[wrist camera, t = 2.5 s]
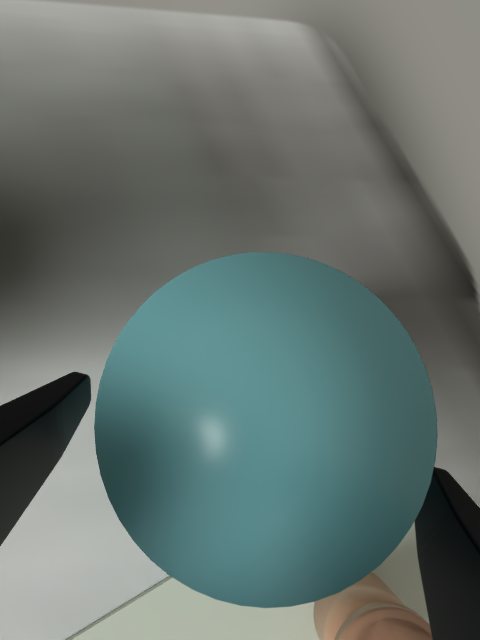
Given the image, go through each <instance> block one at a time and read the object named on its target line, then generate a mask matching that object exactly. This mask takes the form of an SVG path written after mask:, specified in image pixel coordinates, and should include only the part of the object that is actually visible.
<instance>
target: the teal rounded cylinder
mask: <svg viewBox="0 0 480 640" xmlns="http://www.w3.org/2000/svg"><path fill="white" fill-rule="evenodd" d="M94 429H95V444H96V454H97V459H98V464H99V469H100V474H101V477H102V480H103V483H104V486H105V489H106V492H107V495H108V498H109V500H110V502H111V504H112V506H113V508H114V510H115V512H116V514H117V516H118V518H119V520H120V522H121V523H122V525H123V526H124V527H125V529H126V530H127V532H128V533H129V535H130V536H131V538H132V539H133V541H134V542H135V543H136V544H137V545H138V546H139V547H140V549H141V550H142V551H143V552H144V553H145V554H146V555H147V556H148V557H149V558H150V560H151V561H153V562H154V563H155V564H156V565H157V566H159V567H160V568H161V569H162V570H164V571H165V572H166V573H167V574H168V575H170V576H171V577H173V578H174V579H176V580H177V581H179V582H181V583H182V584H184V585H186V586H187V587H189V588H191V589H192V590H195V591H197V592H199V593H202V594H204V595H206V596H209V597H211V598H214V599H216V600H220V601H224V602H228V603H232V604H236V605H240V606H249V607H259V608H277V607H292V606H297V605H301V604H306V603H311V602H315V601H318V600H321V599H323V598H326V597H329V596H331V595H334V594H337V593H339V592H341V591H343V590H344V589H346V588H348V587H350V586H351V585H353V584H355V583H357V582H359V581H360V580H362V579H363V578H364V577H365V576H367V575H368V574H369V573H371V572H372V571H373V570H374V569H376V568H377V567H378V566H380V565H381V564H382V563H383V561H384V560H385V559H386V558H387V557H388V556H389V555H390V554H391V553H392V552H393V551H394V550H395V549H396V548H397V547H398V545H399V544H400V542H401V541H402V540H403V538H404V537H405V535H406V534H407V533H408V531H409V530H410V528H411V527H412V525H413V523H414V521H415V519H416V517H417V515H418V513H419V511H420V509H421V508H422V505H423V503H424V500H425V497H426V494H427V492H428V489H429V486H430V483H431V478H432V474H433V469H434V464H435V459H436V447H437V418H436V409H435V403H434V397H433V391H432V388H431V384H430V381H429V378H428V374H427V371H426V368H425V366H424V364H423V361H422V359H421V357H420V355H419V352H418V350H417V348H416V346H415V345H414V343H413V341H412V340H411V338H410V336H409V334H408V333H407V331H406V329H405V328H404V327H403V326H402V324H401V323H400V322H399V320H398V319H397V318H396V316H395V315H394V314H393V313H392V311H391V310H390V309H389V308H388V307H387V306H386V305H385V304H384V303H383V302H382V301H381V300H380V299H379V298H378V297H377V296H375V295H374V294H373V293H372V292H371V291H369V290H368V289H367V288H366V287H364V286H363V285H362V284H360V283H359V282H357V281H356V280H354V279H353V278H351V277H349V276H348V275H346V274H345V273H343V272H341V271H338V270H336V269H334V268H332V267H330V266H328V265H326V264H323V263H320V262H317V261H314V260H311V259H308V258H304V257H300V256H295V255H290V254H283V253H272V252H256V253H243V254H236V255H230V256H225V257H222V258H218V259H215V260H211V261H208V262H206V263H203V264H201V265H198V266H196V267H194V268H191V269H189V270H187V271H186V272H184V273H182V274H180V275H179V276H177V277H175V278H173V279H172V280H171V281H169V282H168V283H167V284H165V285H164V286H163V287H161V288H160V289H158V290H157V291H156V292H155V293H154V294H153V295H152V296H151V297H150V298H149V299H148V300H146V301H145V302H144V303H143V304H142V305H141V306H140V308H139V309H138V310H137V311H136V313H135V314H134V315H133V316H132V317H131V319H130V320H129V321H128V322H127V324H126V326H125V327H124V329H123V330H122V332H121V334H120V335H119V337H118V338H117V340H116V342H115V344H114V346H113V348H112V351H111V353H110V355H109V357H108V359H107V362H106V365H105V368H104V371H103V374H102V377H101V380H100V385H99V390H98V395H97V401H96V409H95V426H94Z"/></svg>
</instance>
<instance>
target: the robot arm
mask: <svg viewBox="0 0 480 640" xmlns="http://www.w3.org/2000/svg"><path fill="white" fill-rule="evenodd" d="M90 401H91V381H90V377H89V376H88V375H86V374H82V373H79V372H72V373H70V374H67V375H65V376H63V377H61V378H59V379H57V380H55V381H53V382H50V383H48V384H46V385H44V386H42V387H40V388H38V389H35V390H33V391H31V392H29V393H27V394H25V395H23V396H20V397H18V398H16V399H14V400H12V401H10V402H8V403H5V404H3V405H1V406H0V546H1V544H2V543H3V542H4V540H5V539H6V537H7V536H8V534H9V533H10V531H11V530H12V528H13V527H14V525H15V524H16V523H17V521H18V520H19V518H20V517H21V515H22V514H23V512H24V511H25V509H26V508H27V507H28V505H29V504H30V502H31V501H32V499H33V498H34V496H35V495H36V493H37V492H38V490H39V489H40V488H41V486H42V485H43V483H44V482H45V480H46V479H47V477H48V476H49V474H50V473H51V471H52V470H53V469H54V467H55V466H56V464H57V463H58V461H59V460H60V458H61V456H62V455H63V453H64V451H65V449H66V448H67V446H68V444H69V442H70V440H71V438H72V436H73V435H74V433H75V431H76V429H77V427H78V425H79V423H80V422H81V420H82V418H83V416H84V414H85V412H86V410H87V409H88V407H89V404H90ZM414 523H415V535H416V548H417V557H418V563H419V569H420V574H421V580H422V585H423V591H424V596H425V602H426V607H427V613H428V618H429V624H430V629H431V635H432V640H480V508H479V507H478V506H477V505H476V503H475V502H474V501H473V500H472V499H471V498H470V497H469V495H468V494H467V493H466V492H465V491H464V490H463V489H462V487H461V486H460V485H459V484H458V483H457V482H456V481H455V479H454V478H453V477H452V476H451V475H450V474H449V473H448V472H447V471H446V470H444V469H440V468H436V467H434V469H433V474H432V478H431V483H430V486H429V489H428V492H427V494H426V497H425V500H424V503H423V505H422V508H421V509H420V511H419V513H418V515H417V517H416V519H415V521H414Z"/></svg>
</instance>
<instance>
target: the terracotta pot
mask: <svg viewBox="0 0 480 640" xmlns="http://www.w3.org/2000/svg"><path fill="white" fill-rule="evenodd" d="M313 616H314V625H315V629H316V633H317V636H318V638H319V640H432V635H431V629H430V624H429V623H428V622H427V621H426V620H425V619H424V618H423V617H422V616H420V615H419V614H418V613H416V612H415V611H414V610H412V609H410V608H408V607H406V606H405V605H404V604H403V603H402V602H401V601H400V600H399V598H398V597H397V596H396V595H395V594H394V593H393V592H392V591H391V590H390V588H389V587H388V586H387V585H386V584H385V583H384V582H383V581H382V580H381V579H380V578H379V577H378V576H376V575H375V574H373V573H372V572H371V573H369V574H368V575H367V576H365V577H364V578H363V579H362V580H360V581H359V582H357V583H355V584H353V585H351V586H350V587H348V588H346V589H344V590H343V591H341V592H339V593H337V594H334V595H331V596H329V597H326V598H323V599H321V600H318V601H315V603H314V613H313Z"/></svg>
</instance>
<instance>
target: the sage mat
mask: <svg viewBox="0 0 480 640" xmlns="http://www.w3.org/2000/svg"><path fill="white" fill-rule="evenodd" d="M372 573H373V574H375V575H376V576H378V577H379V578H380V579H381V580H382V581H383V582H384V583H385V584H386V585H387V586H388V587H389V588H390V590H391V591H392V592H393V593H394V594H395V595H396V596H397V597H398V598H399V600H400V601H401V602H402V603H403V604H404V605H405V606H406V607H408V608H410V609H412V610H414V611H415V612H416V613H418V614H419V615H420V616H422V617H423V618H424V619H425V620H426V621H427V622H428V623H429V618H428V613H427V607H426V602H425V596H424V591H423V585H422V580H421V574H420V569H419V563H418V557H417V548H416V535H415V523H413V525H412V527H411V528H410V530H409V531H408V533H407V534H406V535H405V537H404V538H403V540H402V541H401V542H400V544H399V545H398V547H397V548H396V549H395V550H394V551H393V552H392V553H391V554H390V555H389V556H388V557H387V558H386V559H385V560H384V561H383V563H382V564H381V565H380V566H378V567H377V568H376V569H374V570H373V571H372ZM314 603H315V602H311V603H306V604H301V605H297V606H292V607H277V608H259V607H249V606H240V605H236V604H232V603H228V602H224V601H220V600H216V599H214V598H211V597H209V596H206V595H204V594H202V593H199V592H197V591H195V590H192V589H191V588H189V587H187V586H186V585H184V584H182V583H181V582H179V581H177V580H176V579H174V578H173V577H171V576H170V577H168V578H166V579H165V580H163V581H161V582H160V583H158V584H157V585H155V586H153V587H152V588H150V589H148V590H147V591H145V592H143V593H142V594H140V595H139V596H137V597H135V598H134V599H132V600H130V601H129V602H127V603H126V604H124V605H122V606H121V607H119V608H117V609H116V610H114V611H113V612H111V613H109V614H108V615H106V616H104V617H103V618H101V619H99V620H98V621H96V622H95V623H93V624H91V625H90V626H88V627H86V628H85V629H83V630H82V631H80V632H78V633H77V634H75V635H73V636H72V637H70V638H68V639H67V640H319V638H318V636H317V633H316V629H315V625H314V616H313V613H314Z"/></svg>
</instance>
